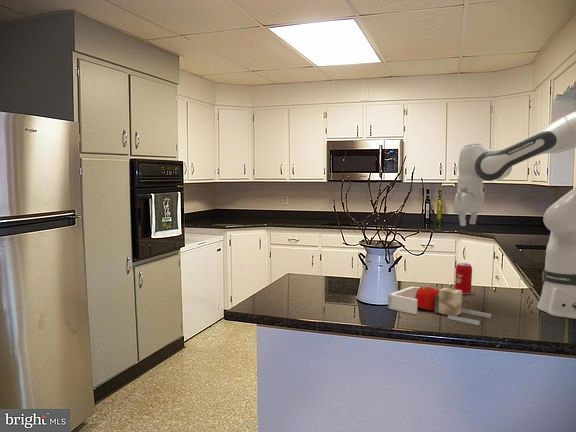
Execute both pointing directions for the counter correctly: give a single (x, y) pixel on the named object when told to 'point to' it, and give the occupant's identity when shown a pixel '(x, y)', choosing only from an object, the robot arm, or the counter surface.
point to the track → (469, 319)
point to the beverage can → (463, 277)
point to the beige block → (448, 301)
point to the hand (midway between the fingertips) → (467, 224)
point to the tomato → (426, 298)
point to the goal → (404, 300)
